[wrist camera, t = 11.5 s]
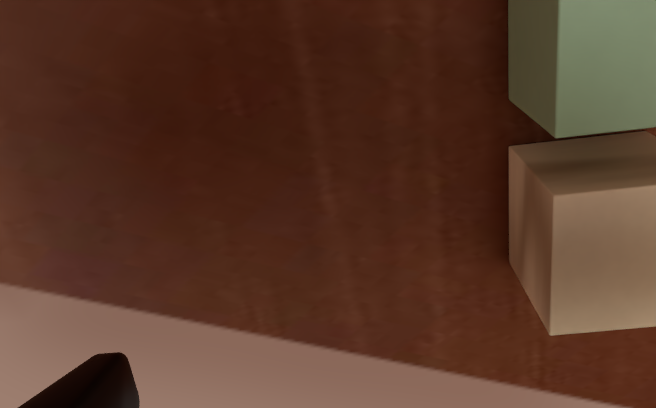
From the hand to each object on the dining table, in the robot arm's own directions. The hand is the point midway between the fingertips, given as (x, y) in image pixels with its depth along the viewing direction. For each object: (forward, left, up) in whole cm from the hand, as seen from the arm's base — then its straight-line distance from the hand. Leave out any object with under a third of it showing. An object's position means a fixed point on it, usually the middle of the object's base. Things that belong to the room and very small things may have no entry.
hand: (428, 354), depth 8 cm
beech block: (-3, -7, -12) cm, 14 cm away
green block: (+3, -7, -12) cm, 14 cm away
